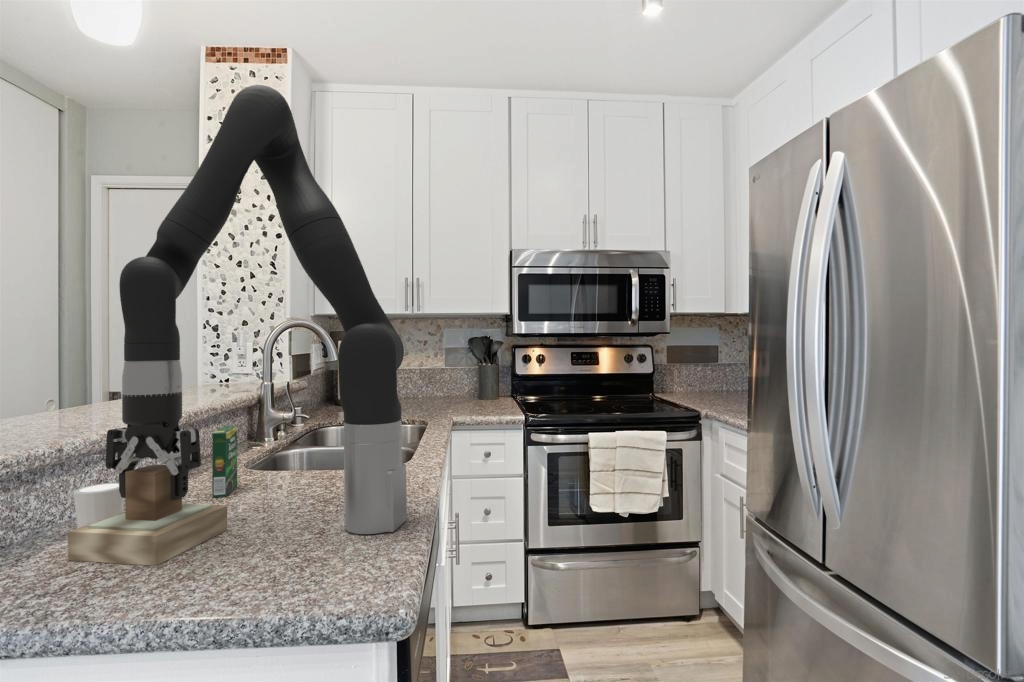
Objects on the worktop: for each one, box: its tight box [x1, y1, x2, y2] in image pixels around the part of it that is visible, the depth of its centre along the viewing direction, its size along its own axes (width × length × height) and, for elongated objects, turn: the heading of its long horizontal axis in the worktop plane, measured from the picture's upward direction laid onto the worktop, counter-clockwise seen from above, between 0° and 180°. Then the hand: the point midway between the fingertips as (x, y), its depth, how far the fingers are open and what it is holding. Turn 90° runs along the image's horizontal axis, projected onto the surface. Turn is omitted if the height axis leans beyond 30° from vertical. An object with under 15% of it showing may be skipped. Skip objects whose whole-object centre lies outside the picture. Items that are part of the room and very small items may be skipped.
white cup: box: [73, 482, 125, 528], centre depth 85 cm, size 7×7×7 cm
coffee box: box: [211, 425, 238, 498], centre depth 107 cm, size 8×3×13 cm, turn 13°
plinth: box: [67, 502, 228, 567], centre depth 79 cm, size 14×14×4 cm
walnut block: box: [124, 463, 183, 521], centre depth 79 cm, size 5×5×7 cm
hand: (153, 497), depth 79 cm, fingers open, 8 cm apart
